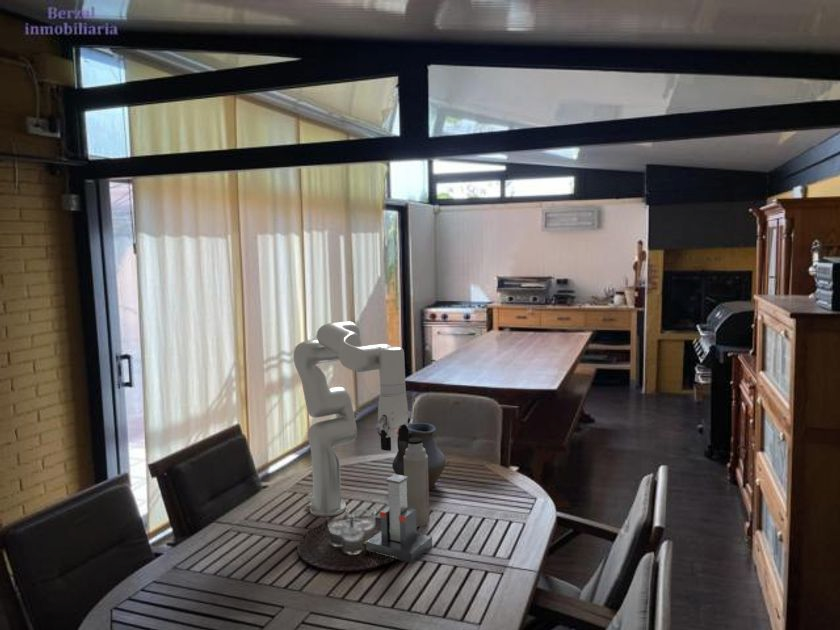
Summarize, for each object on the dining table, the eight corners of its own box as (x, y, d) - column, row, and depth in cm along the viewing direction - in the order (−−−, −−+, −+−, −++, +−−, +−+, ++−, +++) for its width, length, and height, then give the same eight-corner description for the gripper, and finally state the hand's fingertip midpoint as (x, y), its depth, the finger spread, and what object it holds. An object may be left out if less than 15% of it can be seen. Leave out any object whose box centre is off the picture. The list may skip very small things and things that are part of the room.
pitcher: (456, 483, 242) (455, 419, 240) (426, 502, 224) (424, 434, 222) (411, 474, 253) (409, 413, 251) (379, 492, 235) (377, 427, 233)
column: (388, 539, 189) (386, 479, 187) (396, 533, 193) (394, 474, 191) (401, 543, 186) (399, 481, 184) (410, 536, 190) (408, 476, 189)
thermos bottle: (431, 517, 212) (429, 436, 209) (427, 527, 204) (424, 443, 201) (408, 515, 213) (405, 435, 211) (403, 525, 206) (400, 442, 203)
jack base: (366, 551, 189) (364, 512, 188) (388, 535, 199) (387, 498, 198) (411, 563, 181) (410, 523, 180) (432, 546, 191) (431, 508, 190)
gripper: (398, 382, 195) (400, 436, 196) (365, 393, 180) (368, 452, 182) (418, 384, 191) (421, 439, 193) (387, 396, 176) (389, 455, 178)
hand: (395, 445), depth 187 cm, fingers open, 9 cm apart
